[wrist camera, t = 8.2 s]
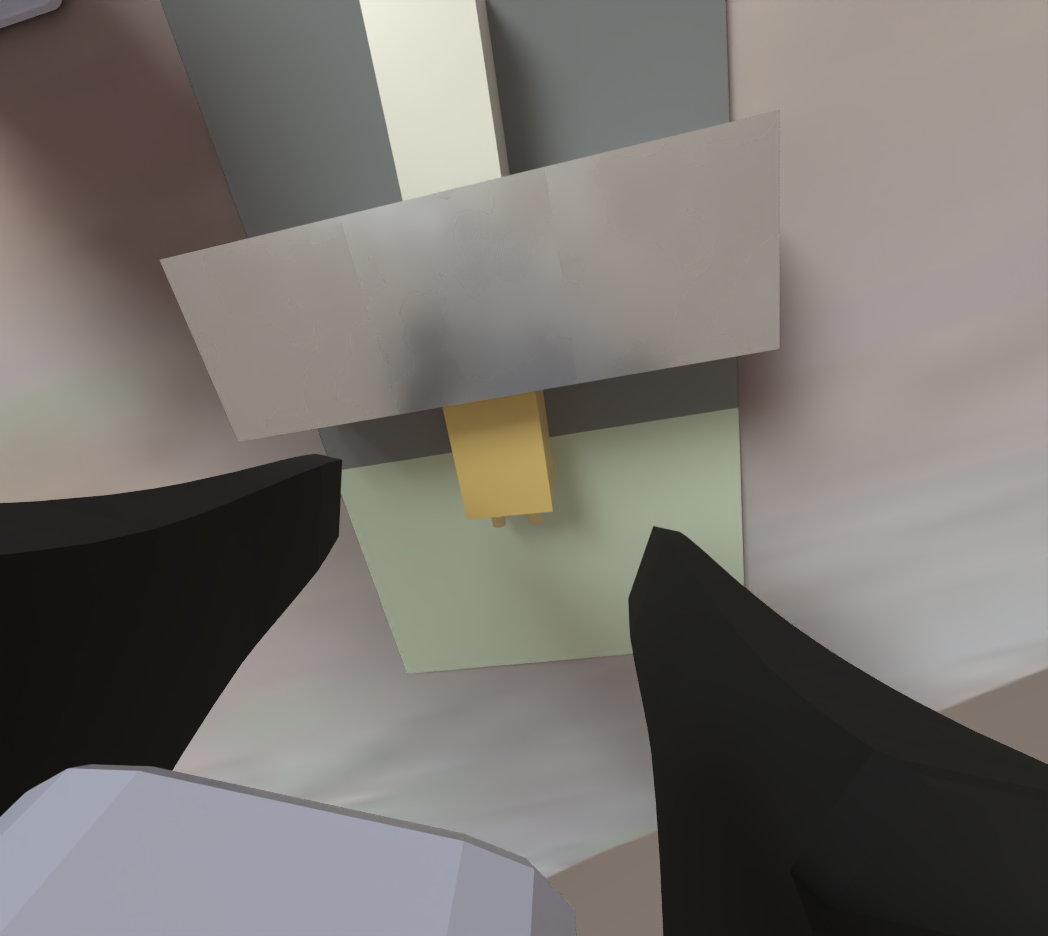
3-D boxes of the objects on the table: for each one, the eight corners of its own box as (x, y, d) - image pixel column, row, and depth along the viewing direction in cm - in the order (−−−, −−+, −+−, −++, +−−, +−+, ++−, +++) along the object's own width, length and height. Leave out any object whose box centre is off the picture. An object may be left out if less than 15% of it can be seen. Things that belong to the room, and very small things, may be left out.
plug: (387, 17, 14) (343, -44, 11) (487, -8, 14) (467, -77, 11) (485, 506, 20) (472, 544, 17) (557, 498, 20) (556, 536, 17)
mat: (-45, -588, 11) (-67, -618, 11) (686, -1014, 9) (692, -1072, 8) (409, 667, 24) (407, 673, 24) (742, 637, 22) (745, 643, 22)
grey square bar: (270, 261, 17) (159, 260, 12) (713, 158, 15) (779, 110, 10) (319, 399, 19) (238, 442, 14) (720, 326, 17) (779, 349, 12)
